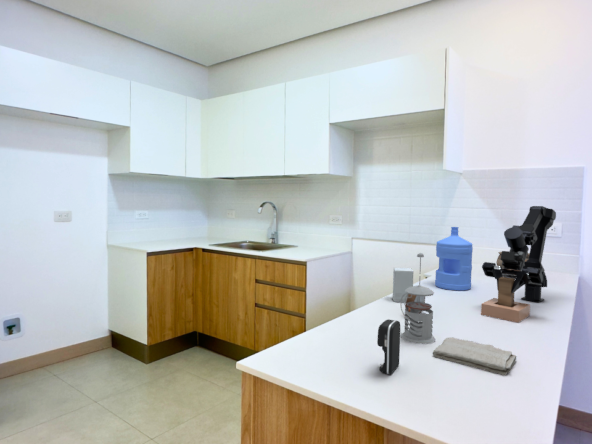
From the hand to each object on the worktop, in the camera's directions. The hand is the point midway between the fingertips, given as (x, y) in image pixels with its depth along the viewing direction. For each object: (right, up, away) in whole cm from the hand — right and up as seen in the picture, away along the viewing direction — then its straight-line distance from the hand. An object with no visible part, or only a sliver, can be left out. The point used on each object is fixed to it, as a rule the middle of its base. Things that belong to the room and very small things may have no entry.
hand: (505, 291), depth 134 cm
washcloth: (-28, -11, -36) cm, 47 cm away
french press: (-38, -10, -21) cm, 44 cm away
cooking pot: (+45, -5, +72) cm, 85 cm away
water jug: (0, -6, +45) cm, 45 cm away
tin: (-30, -9, +3) cm, 32 cm away
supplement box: (-30, -7, +20) cm, 37 cm away
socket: (+1, -9, +1) cm, 9 cm away
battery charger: (-51, -11, -43) cm, 67 cm away
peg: (+1, -7, +1) cm, 7 cm away
